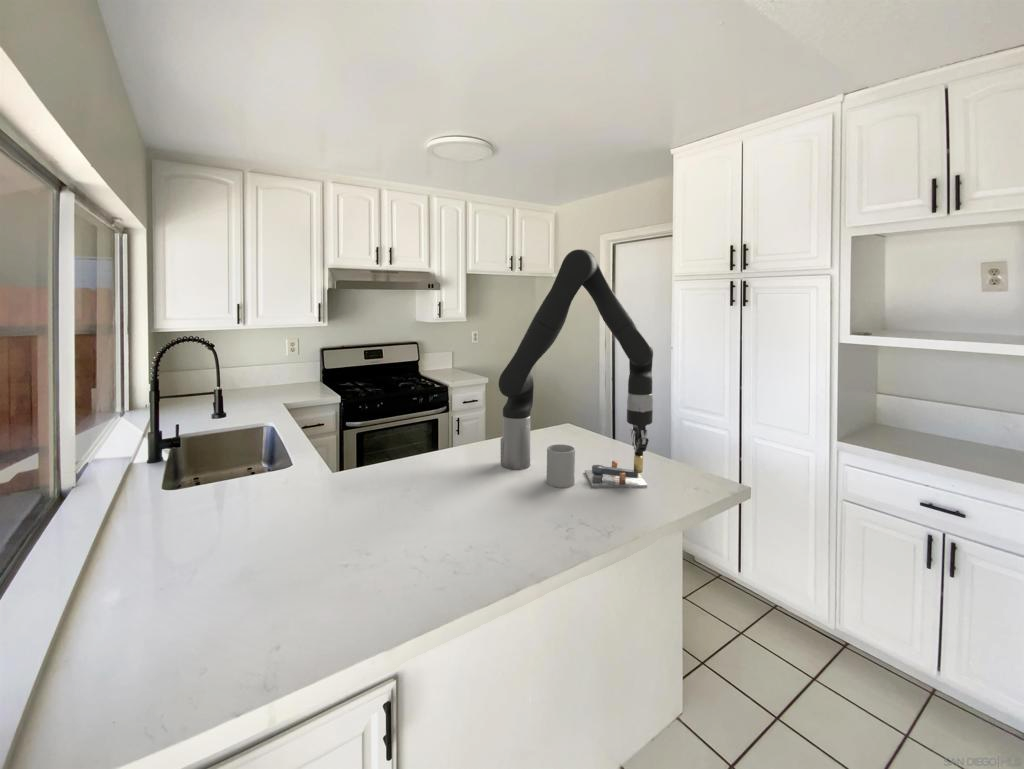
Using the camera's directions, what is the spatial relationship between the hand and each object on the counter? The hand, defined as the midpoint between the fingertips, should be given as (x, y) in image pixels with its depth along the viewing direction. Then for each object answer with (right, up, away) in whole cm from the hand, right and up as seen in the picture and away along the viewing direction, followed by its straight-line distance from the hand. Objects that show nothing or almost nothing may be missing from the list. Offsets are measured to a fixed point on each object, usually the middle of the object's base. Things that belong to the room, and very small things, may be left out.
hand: (638, 462), depth 149 cm
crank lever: (-7, -4, -1) cm, 8 cm away
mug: (-24, -6, +1) cm, 25 cm away
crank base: (-7, -6, +2) cm, 9 cm away
